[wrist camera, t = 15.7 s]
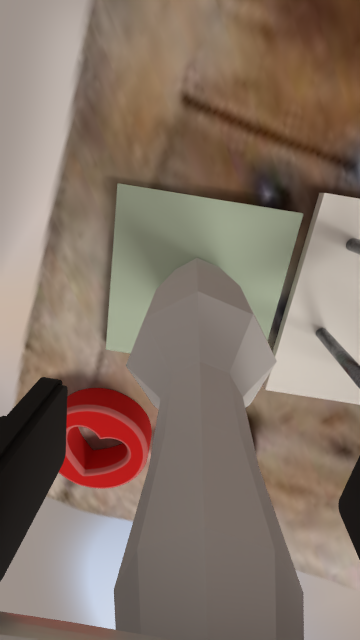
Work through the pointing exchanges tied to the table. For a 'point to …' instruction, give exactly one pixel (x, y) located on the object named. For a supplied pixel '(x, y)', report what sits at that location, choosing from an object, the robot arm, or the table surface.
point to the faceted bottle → (205, 476)
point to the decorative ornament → (106, 422)
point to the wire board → (322, 307)
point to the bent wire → (337, 351)
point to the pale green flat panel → (193, 252)
